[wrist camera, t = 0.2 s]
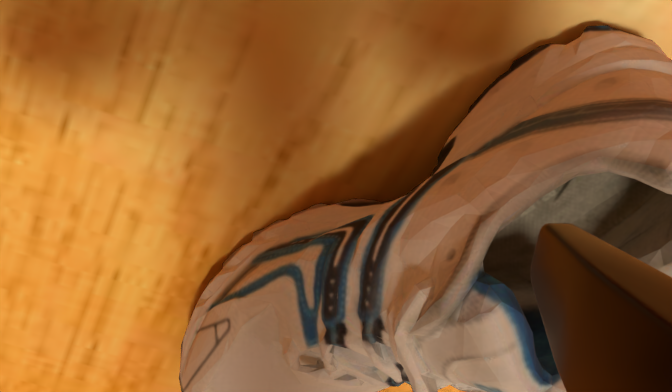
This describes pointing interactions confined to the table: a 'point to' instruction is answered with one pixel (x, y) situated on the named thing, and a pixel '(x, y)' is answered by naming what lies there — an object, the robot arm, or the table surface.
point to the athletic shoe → (453, 241)
